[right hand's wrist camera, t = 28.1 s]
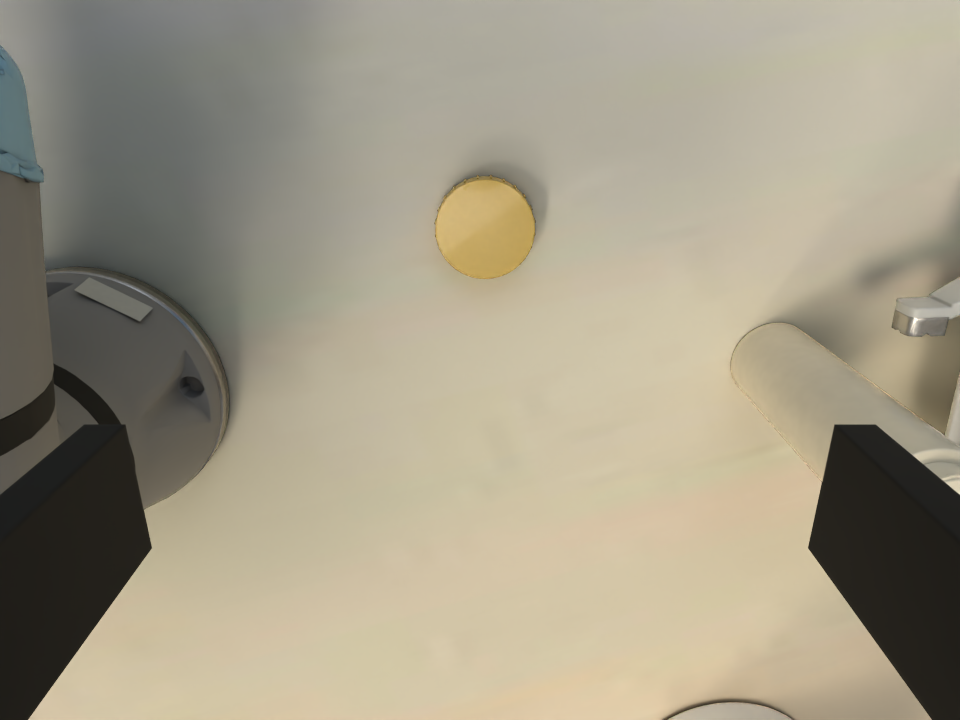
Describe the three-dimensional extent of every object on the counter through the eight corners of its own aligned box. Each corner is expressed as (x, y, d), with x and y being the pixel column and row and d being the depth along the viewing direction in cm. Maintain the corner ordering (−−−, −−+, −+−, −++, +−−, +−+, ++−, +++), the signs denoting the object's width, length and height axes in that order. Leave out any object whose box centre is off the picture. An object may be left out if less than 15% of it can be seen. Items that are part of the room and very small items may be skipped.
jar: (818, 384, 42) (1021, 558, 26) (738, 408, 43) (890, 592, 27) (805, 311, 40) (1014, 450, 25) (722, 337, 41) (874, 489, 25)
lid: (434, 175, 38) (432, 179, 36) (534, 174, 38) (536, 177, 36) (437, 273, 40) (436, 280, 38) (533, 272, 40) (535, 279, 38)
